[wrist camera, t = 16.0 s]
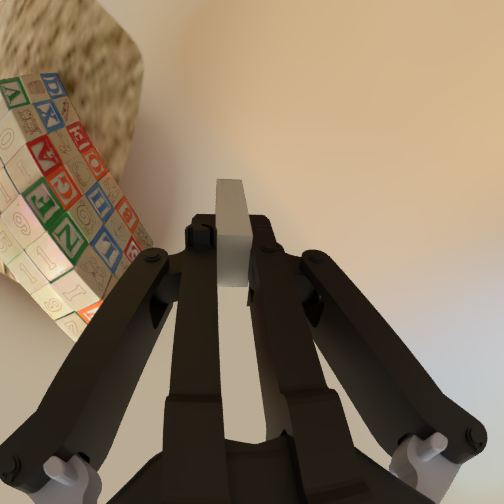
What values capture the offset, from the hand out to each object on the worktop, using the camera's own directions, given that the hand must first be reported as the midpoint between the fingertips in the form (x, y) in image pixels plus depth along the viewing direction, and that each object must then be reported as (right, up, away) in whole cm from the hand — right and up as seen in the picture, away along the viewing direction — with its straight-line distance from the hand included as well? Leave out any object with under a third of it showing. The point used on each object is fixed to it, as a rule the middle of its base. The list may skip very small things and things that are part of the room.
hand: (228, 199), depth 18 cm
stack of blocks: (-16, +5, +7) cm, 18 cm away
